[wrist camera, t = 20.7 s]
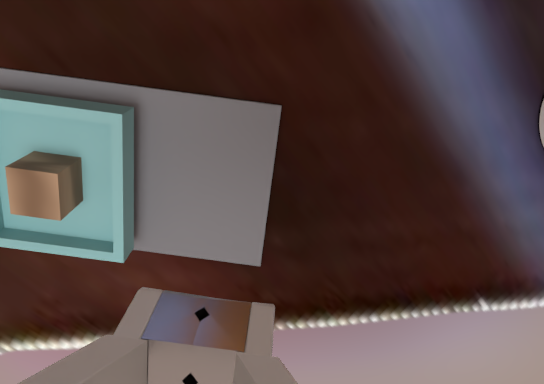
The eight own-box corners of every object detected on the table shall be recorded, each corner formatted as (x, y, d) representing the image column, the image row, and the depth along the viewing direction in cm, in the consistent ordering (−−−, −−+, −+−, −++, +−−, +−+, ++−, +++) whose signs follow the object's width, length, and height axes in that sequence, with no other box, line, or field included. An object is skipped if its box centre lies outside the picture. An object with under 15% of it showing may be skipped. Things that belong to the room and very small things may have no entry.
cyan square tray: (139, 103, 42) (122, 114, 38) (139, 239, 48) (123, 262, 43) (-6, 84, 42) (-41, 92, 38) (11, 223, 48) (-17, 244, 43)
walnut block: (81, 157, 41) (57, 174, 37) (83, 200, 43) (60, 220, 39) (34, 150, 41) (5, 166, 37) (37, 194, 43) (10, 213, 39)
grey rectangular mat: (281, 105, 42) (281, 106, 42) (260, 264, 49) (260, 266, 49) (-50, 60, 42) (-53, 61, 42) (-24, 226, 49) (-26, 228, 49)
